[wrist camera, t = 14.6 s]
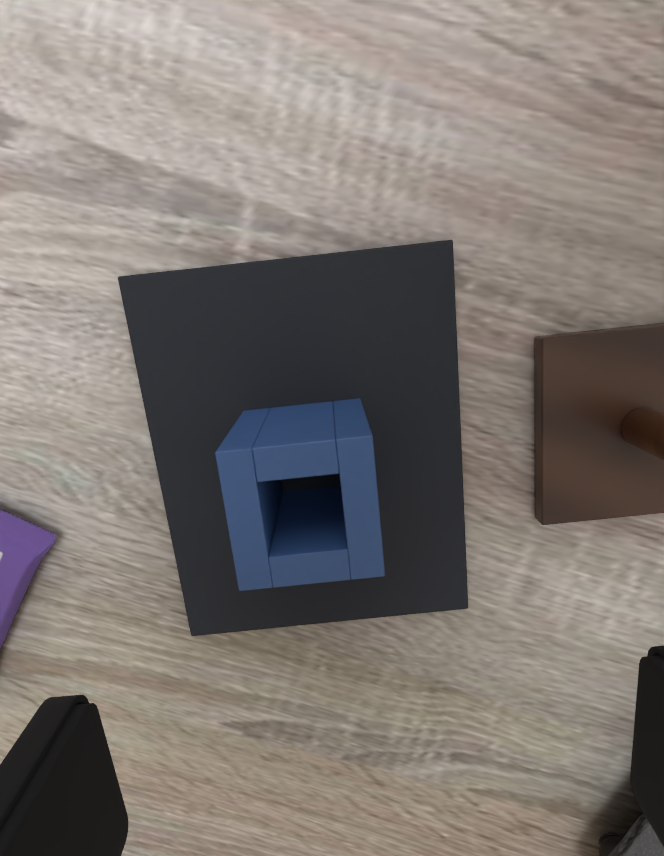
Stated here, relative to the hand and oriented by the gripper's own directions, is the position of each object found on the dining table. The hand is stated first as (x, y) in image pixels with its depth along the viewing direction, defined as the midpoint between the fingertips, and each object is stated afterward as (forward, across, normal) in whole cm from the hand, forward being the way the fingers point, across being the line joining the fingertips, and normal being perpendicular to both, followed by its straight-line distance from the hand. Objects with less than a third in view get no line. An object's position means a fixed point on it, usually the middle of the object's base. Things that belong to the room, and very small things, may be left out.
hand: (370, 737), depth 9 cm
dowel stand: (+19, -15, +1) cm, 24 cm away
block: (+18, +2, +1) cm, 19 cm away
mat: (+19, +2, +1) cm, 19 cm away
